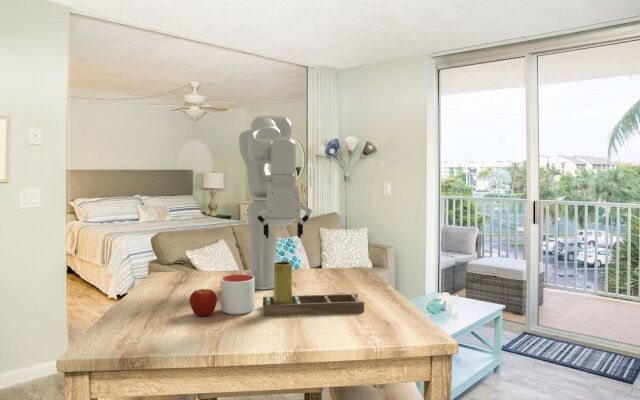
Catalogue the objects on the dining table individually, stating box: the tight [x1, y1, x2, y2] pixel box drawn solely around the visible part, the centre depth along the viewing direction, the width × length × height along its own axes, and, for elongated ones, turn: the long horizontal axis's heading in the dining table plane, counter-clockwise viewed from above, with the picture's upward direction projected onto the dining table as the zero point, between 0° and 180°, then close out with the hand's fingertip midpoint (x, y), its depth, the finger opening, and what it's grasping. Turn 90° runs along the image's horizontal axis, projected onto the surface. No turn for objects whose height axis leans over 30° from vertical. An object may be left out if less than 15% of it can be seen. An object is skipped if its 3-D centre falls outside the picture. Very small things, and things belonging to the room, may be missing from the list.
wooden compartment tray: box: [262, 293, 365, 317], centre depth 143 cm, size 10×30×3 cm, turn 98°
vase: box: [273, 260, 293, 304], centre depth 142 cm, size 6×6×14 cm
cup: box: [220, 274, 256, 315], centre depth 141 cm, size 10×10×10 cm
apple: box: [189, 288, 218, 317], centre depth 137 cm, size 8×8×8 cm
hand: (283, 237), depth 141 cm, fingers open, 9 cm apart
